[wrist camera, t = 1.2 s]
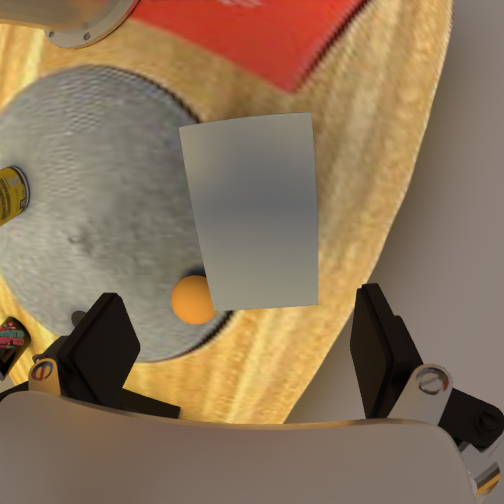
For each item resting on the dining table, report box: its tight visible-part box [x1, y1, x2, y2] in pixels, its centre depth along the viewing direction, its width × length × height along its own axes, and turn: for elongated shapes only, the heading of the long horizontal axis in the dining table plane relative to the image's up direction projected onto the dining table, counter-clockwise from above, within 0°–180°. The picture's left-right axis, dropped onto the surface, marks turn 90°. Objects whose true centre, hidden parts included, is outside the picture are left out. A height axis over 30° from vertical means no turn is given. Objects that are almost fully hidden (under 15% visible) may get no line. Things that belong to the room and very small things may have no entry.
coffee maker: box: [113, 388, 180, 419], centre depth 33 cm, size 28×20×35 cm
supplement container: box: [0, 318, 30, 381], centre depth 35 cm, size 7×7×10 cm
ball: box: [171, 275, 217, 324], centre depth 29 cm, size 5×5×5 cm
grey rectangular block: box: [179, 112, 318, 311], centre depth 22 cm, size 13×8×9 cm, turn 6°
